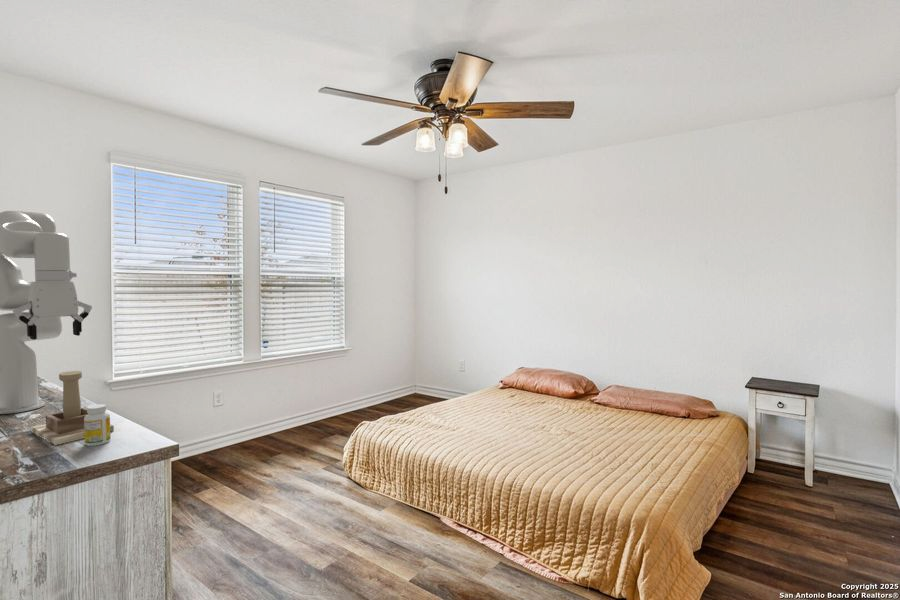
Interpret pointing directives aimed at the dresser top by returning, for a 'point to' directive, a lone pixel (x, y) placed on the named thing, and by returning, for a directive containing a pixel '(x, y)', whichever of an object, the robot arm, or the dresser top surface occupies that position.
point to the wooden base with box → (63, 428)
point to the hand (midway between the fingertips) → (55, 337)
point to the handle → (71, 393)
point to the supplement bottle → (97, 425)
